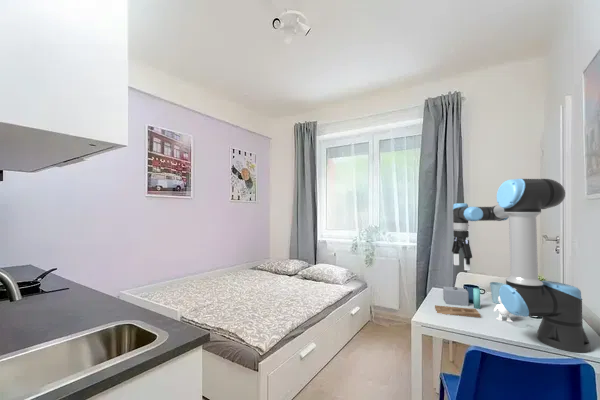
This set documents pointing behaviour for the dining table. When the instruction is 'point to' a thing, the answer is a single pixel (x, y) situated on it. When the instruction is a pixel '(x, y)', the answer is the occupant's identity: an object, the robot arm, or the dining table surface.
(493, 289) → the cup
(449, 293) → the housing
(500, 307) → the figurine
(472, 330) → the dining table surface
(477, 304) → the peg
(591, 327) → the dining table surface
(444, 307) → the socket board
